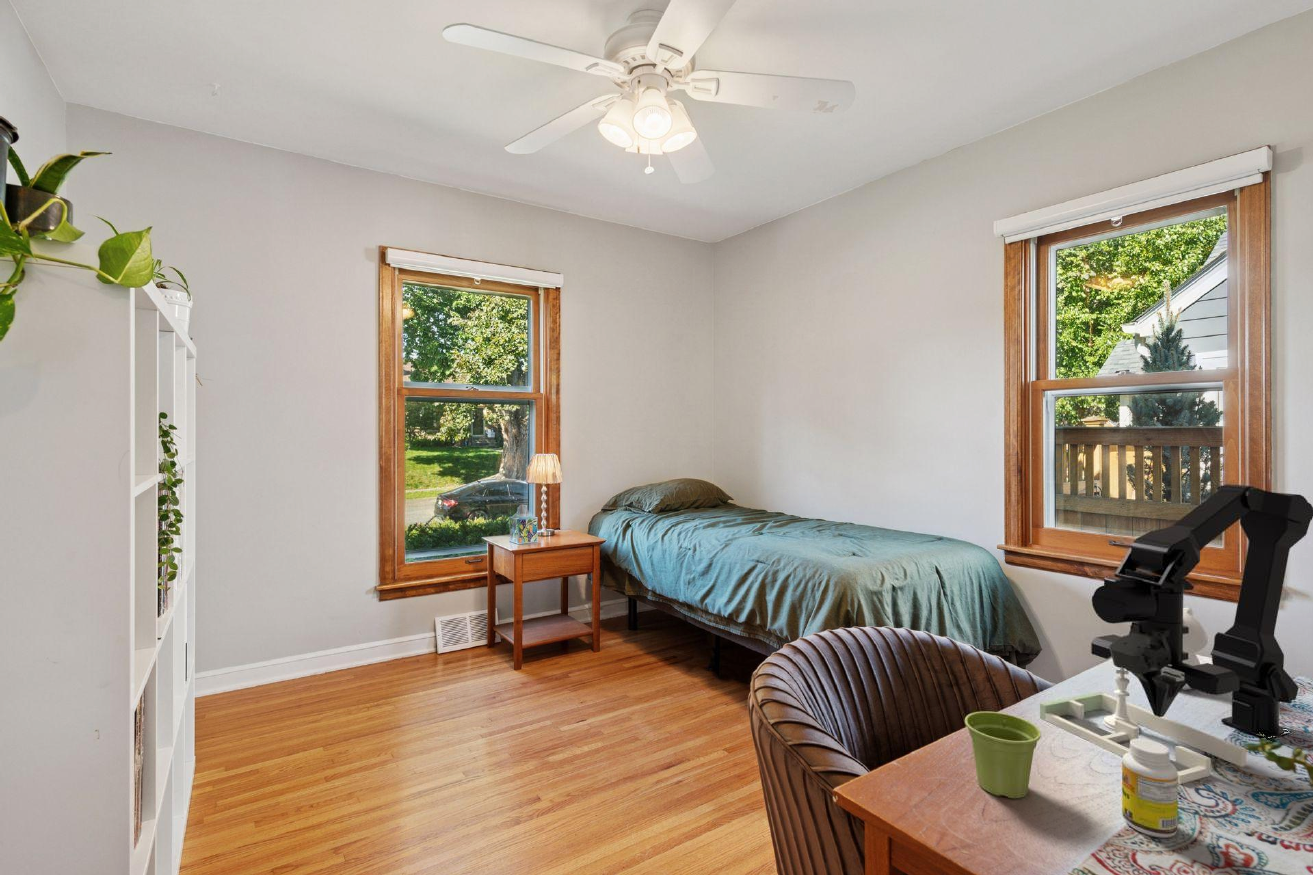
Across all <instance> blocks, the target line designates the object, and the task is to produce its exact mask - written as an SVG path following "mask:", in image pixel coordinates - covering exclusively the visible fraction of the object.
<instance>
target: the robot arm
mask: <svg viewBox="0 0 1313 875" xmlns="http://www.w3.org/2000/svg"><path fill="white" fill-rule="evenodd" d="M1238 521H1239V525H1240V527H1241V529H1242V530H1243V533H1244V534H1245V536H1246V538H1247V540H1248V547H1247V551H1246V556H1245V563H1244V567H1243V572H1242V577H1241V584H1240V587H1239V589H1240V590H1239V595H1238V600H1237V605H1236V610H1235V616H1234V621H1233V624H1232V626H1231V627H1229V629H1227V630H1226V631H1225V632H1224V633H1223V632H1220V631H1218V632H1217V633H1216V634H1214V640H1213V647H1212V650H1211V652H1210V656H1211V663H1209V662H1208V663H1207V662H1205V663H1200V665H1195V666H1192V665H1188V664H1185V663H1183V660H1188V653H1187V652H1183V634H1188V633H1189V627H1187V626H1183V608H1184V591H1192V590H1194V588H1195V586H1194V585H1193V584H1192V583H1191V582H1189V581H1188V580H1187V579H1186V577H1187V576H1188V575H1189V574H1190V573H1191V572H1192V571H1193V570H1194V568H1196V566H1197V565H1198V564H1199V563H1200V561H1201V552H1202V550H1203V549H1204V548H1205V547H1206V546H1207V545H1208V544H1210V543H1211V542H1212V541H1213V540H1215V539H1216V538H1218V537H1219V536H1220V535H1221V534H1223V533H1224V532H1225V531H1226V530H1227V529H1229V528H1230V527H1232V526H1233V525H1235V523H1237V522H1238ZM1312 521H1313V505H1312V503H1310V502H1309V501H1308V500H1307V499H1306V497H1305V496H1303V495H1301V494H1295V493H1283V492H1272V491H1267V490H1266V489H1265V490H1264V489H1262V488H1258V487H1255V486H1252V485H1244V484H1242V485H1240V484H1233V483H1232V484H1231V483H1230V484H1229V483H1228V484H1227V483H1226V484H1224V485H1219V486H1218V487H1217V488H1216V489H1215V492H1214V493H1213V494H1212V495H1211V496H1210V497H1208V498H1206V500H1204V501H1203V502H1201V503H1200V504H1199V505H1198V506H1196V507H1195V508H1194V509H1193V510H1191V511H1190V512H1188V513H1187V514H1186V515H1184V516H1182V518H1180V519H1179V520H1178V521H1176V522H1175V523H1174V524H1173V525H1170V526H1168V527H1164V528H1159V529H1155V530H1154V529H1153V530H1152V531H1149V532H1147V533H1145V534H1143V535H1140V536H1138V537H1137V538H1136V539H1134V541H1132V543H1131V545H1130V547H1129V549H1128V550H1127V552H1126V554H1125V556H1124V557H1123V559H1122V560H1121V562H1120V564H1119V566H1118V567H1117V569H1116V571H1115V573H1114V577H1105V578H1104V579H1103V585H1101V586H1098V587H1097V588H1096V589H1095V591H1094V592H1093V595H1092V596H1091V604H1092V608H1093V610H1094V612H1095V614H1096V615H1097V617H1098V618H1100V620H1102V621H1103V622H1104V623H1105V622H1106V623H1108V624H1113V625H1114V624H1122V623H1131V625H1130V630H1129V633H1128V634H1127V635H1123V636H1120V635H1116V634H1108V635H1107V634H1106V635H1101V636H1097V637H1094V639H1093V640H1092V641H1091V643H1090V653H1091V655H1094V656H1095V657H1096V656H1097V657H1100V658H1103V659H1105V660H1108V659H1111V658H1112V659H1111V660H1112V662H1113V663H1112V664H1113V665H1114V666H1115V667H1116V668H1119V669H1120V668H1121V667H1122V668H1124V670H1125V671H1128V672H1129V673H1132V674H1133V675H1134V677H1136V678H1137V679H1138V680H1139V682H1140V685H1141V686H1142V688H1143V691H1144V693H1145V696H1146V698H1147V701H1148V703H1149V706H1150V708H1151V712H1153V713H1154V715H1155V716H1158V717H1163V716H1164V717H1165V715H1166V713H1167V711H1168V710H1169V709H1170V706H1171V705H1172V703H1173V702H1174V700H1175V699H1176V697H1177V696H1178V695H1179V693H1180V691H1182V688H1183V687H1184V686H1185V685H1186V684H1188V686H1189V687H1190V688H1193V689H1192V690H1196V691H1199V692H1202V693H1204V694H1207V695H1211V696H1220V695H1224V694H1228V693H1229V694H1230V693H1231V716H1228V717H1223V718H1220V721H1221V723H1223V724H1226V725H1227V726H1230V727H1233V728H1236V729H1237V730H1238V729H1239V730H1242V731H1244V732H1247V733H1249V734H1252V733H1254V734H1259V732H1260V733H1261V734H1262V735H1263V734H1264V735H1265V736H1264V737H1265V738H1264V739H1266V738H1268V737H1271V736H1272V737H1273V736H1277V737H1279V736H1280V735H1281V734H1283V733H1284V732H1288V731H1289V730H1288V731H1287V730H1283V729H1288V728H1287V727H1285V728H1283V727H1284V726H1282V725H1280V703H1285V704H1291V703H1292V701H1296V699H1297V696H1298V692H1299V685H1297V683H1296V682H1295V681H1294V680H1293V679H1292V677H1291V676H1290V675H1289V673H1287V671H1286V670H1285V669H1284V665H1285V654H1284V652H1283V650H1282V648H1281V646H1280V644H1279V643H1278V640H1277V639H1276V636H1275V630H1276V626H1277V625H1276V624H1277V620H1278V615H1279V609H1280V603H1281V599H1282V592H1283V587H1284V582H1285V581H1284V580H1285V576H1286V570H1287V565H1288V560H1289V556H1290V555H1289V554H1290V550H1291V549H1292V548H1293V547H1294V546H1295V545H1296V544H1298V543H1299V541H1301V540H1302V539H1303V538H1304V537H1305V536H1306V535H1307V534H1308V530H1309V527H1310V524H1311V522H1312ZM1170 665H1172V666H1170ZM1254 734H1253V735H1254ZM1281 736H1282V735H1281ZM1273 738H1274V737H1273Z"/></svg>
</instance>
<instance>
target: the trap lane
mask: <svg viewBox="0 0 1313 875" xmlns="http://www.w3.org/2000/svg"><path fill="white" fill-rule="evenodd" d="M1117 701H1118V697H1116V696H1113V695H1110V694H1108V693H1105V692H1102V691H1096V692H1092V693H1086V694H1082V695H1076V696H1071V697H1067V698H1066V697H1065V698H1061V699H1057V700H1050V701H1046V702H1040V703H1039V718H1040V719H1042V720H1044V721H1046V722H1048V723H1050V724H1053V725H1054V726H1056V727H1059V728H1061V729H1063V730H1065V731H1067V732H1070V733H1072V734H1073V735H1076V736H1077V737H1080V738H1082V739H1084V740H1086V741H1088V742H1090V743H1093V744H1095V745H1097V746H1099V747H1101V748H1103V749H1105V750H1107V751H1109V752H1111V753H1113V754H1115V755H1118V756H1119V757H1122V758H1123V756H1124V755H1125V754H1126V753H1129V752H1130V750H1129V748H1130V741H1131V740H1132V739H1139V732H1138V728H1137V727H1135V726H1133V725H1130V724H1128V723H1126V722H1123V721H1121V720H1116V721H1115V730H1114V733H1111V731H1107V730H1105V729H1103V728H1101V727H1099V726H1096V725H1094V724H1092V723H1089V722H1087V721H1085V713H1086V712H1091V711H1096V710H1101V709H1102V710H1104V711H1107V712H1110V713H1112V714H1115V712H1116V707H1117ZM1126 709H1127V716H1128V717H1129V718H1130V720H1132V721H1134V722H1136V723H1137V724H1138V725H1140V726H1142V727H1145V728H1148V729H1150V730H1152V731H1155V732H1157V733H1160V734H1162V735H1164V736H1166V737H1169V738H1171V739H1174V740H1176V741H1178V742H1181V743H1184V744H1185V745H1188V746H1190V747H1193V748H1196V749H1198V750H1200V751H1203V752H1205V753H1207V754H1210V755H1212V756H1214V757H1217V758H1220V759H1222V760H1224V761H1226V762H1229V763H1231V764H1233V765H1237V766H1238V767H1241V768H1242V767H1246V766H1247V749H1246V748H1244V747H1243V746H1240V745H1237V744H1235V743H1233V742H1230V741H1227V740H1224V739H1222V738H1220V737H1217V736H1215V735H1211V734H1209V733H1206V732H1204V731H1201V730H1199V729H1197V728H1193V727H1191V726H1189V725H1186V724H1183V723H1181V722H1178V721H1176V720H1174V719H1171V718H1168V717H1166V716H1165V715H1164V716H1163V717H1158V716H1155V715H1154V713H1153V711H1152V710H1148V709H1145V708H1143V707H1140V706H1138V705H1135V704H1133V703H1130V702H1128V701H1126ZM1174 758H1175V760H1173V759H1170V763H1172V764H1173V765H1174V766H1175V767H1176V769H1177V772H1178V784H1179V785H1182V784H1186V783H1189V782H1190V783H1191V782H1193V781H1196V780H1200V779H1203V778H1206V777H1210V776H1211V774H1212V773H1211V765H1212V764H1211V762H1212V761H1211V758H1210V757H1208V756H1206V755H1204V754H1201V753H1199V752H1196V751H1194V750H1192V749H1189V748H1187V747H1184V746H1182V745H1177V746H1175V757H1174Z"/></svg>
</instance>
